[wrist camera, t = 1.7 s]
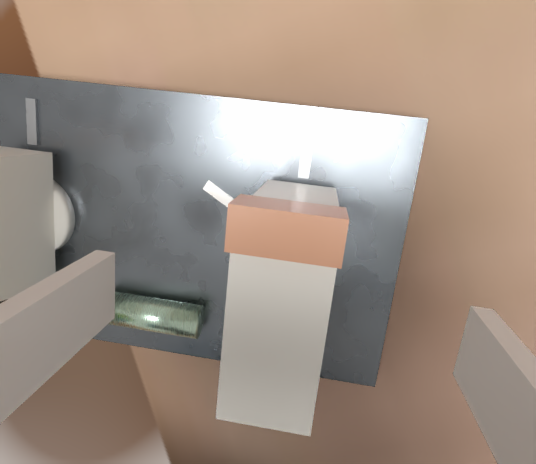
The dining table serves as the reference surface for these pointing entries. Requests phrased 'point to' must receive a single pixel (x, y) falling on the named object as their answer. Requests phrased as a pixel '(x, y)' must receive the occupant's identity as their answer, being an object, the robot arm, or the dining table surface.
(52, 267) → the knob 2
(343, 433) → the dining table surface
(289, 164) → the levelling base
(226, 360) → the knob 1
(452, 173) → the dining table surface
